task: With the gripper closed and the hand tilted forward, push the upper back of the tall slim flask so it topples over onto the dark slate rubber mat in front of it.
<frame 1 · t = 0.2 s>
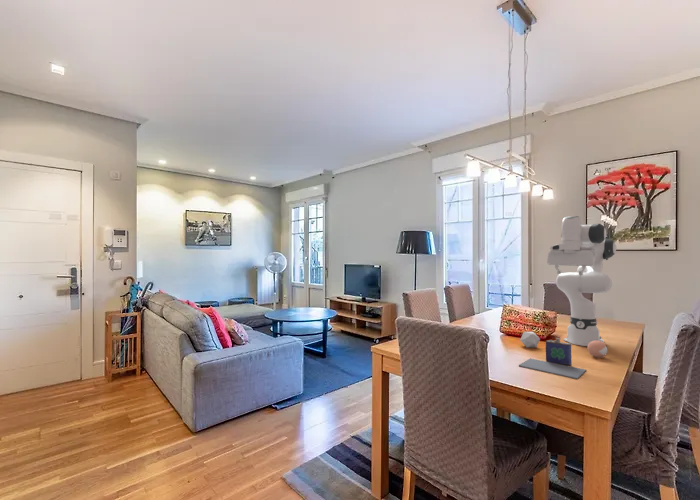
hand: (569, 274, 172), 39 cm above the table, tool pointing down, fingers open, 8 cm apart
toy ball: (597, 357, 162), on the table
die: (530, 347, 181), on the table
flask: (558, 364, 153), on the table
mat: (551, 368, 146), on the table
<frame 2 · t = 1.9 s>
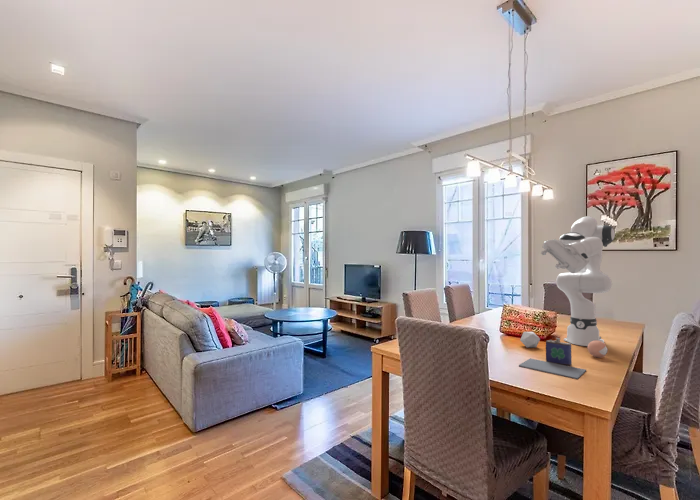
hand: (549, 259, 162), 47 cm above the table, tool tilted 75°, fingers open, 8 cm apart
nothing on the table moved.
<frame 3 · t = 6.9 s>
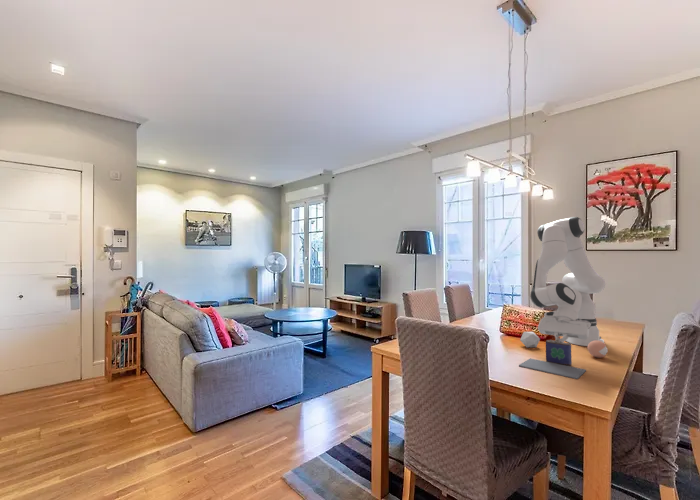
hand: (558, 342, 154), 9 cm above the table, tool tilted 45°, fingers closed
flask: (558, 363, 153), on the table, touching gripper
everything else where it was.
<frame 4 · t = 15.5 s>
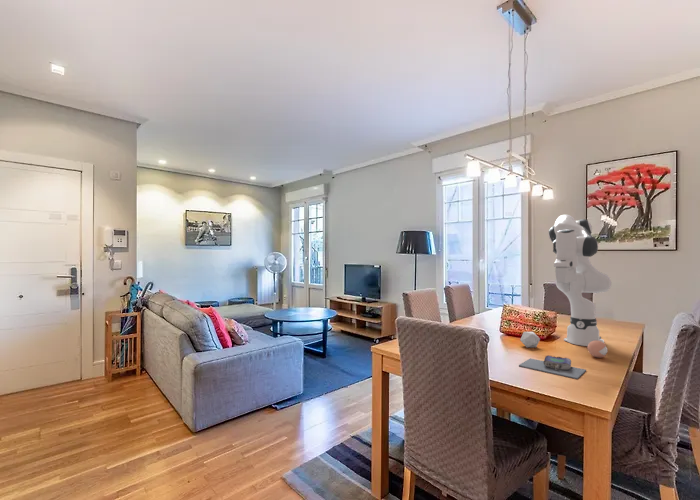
hand: (567, 291, 163), 31 cm above the table, tool pointing down, fingers closed
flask: (557, 359, 152), point 2 cm above the table, touching mat
everything else where it was.
at the end: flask tilted 90°; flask touching mat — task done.
